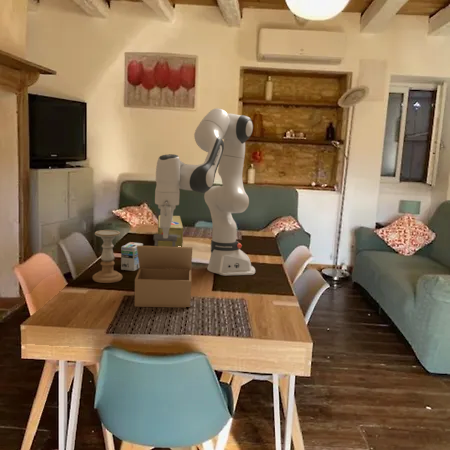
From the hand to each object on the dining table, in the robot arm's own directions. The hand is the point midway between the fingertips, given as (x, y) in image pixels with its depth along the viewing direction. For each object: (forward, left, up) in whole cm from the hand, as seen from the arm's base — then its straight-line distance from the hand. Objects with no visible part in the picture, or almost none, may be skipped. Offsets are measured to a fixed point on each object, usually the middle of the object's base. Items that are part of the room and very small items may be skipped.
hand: (165, 236), depth 171 cm
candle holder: (+25, -23, -24) cm, 42 cm away
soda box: (+2, -95, -25) cm, 98 cm away
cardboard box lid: (0, -1, -8) cm, 8 cm away
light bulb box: (+17, -41, -25) cm, 51 cm away
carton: (0, +1, -24) cm, 24 cm away
